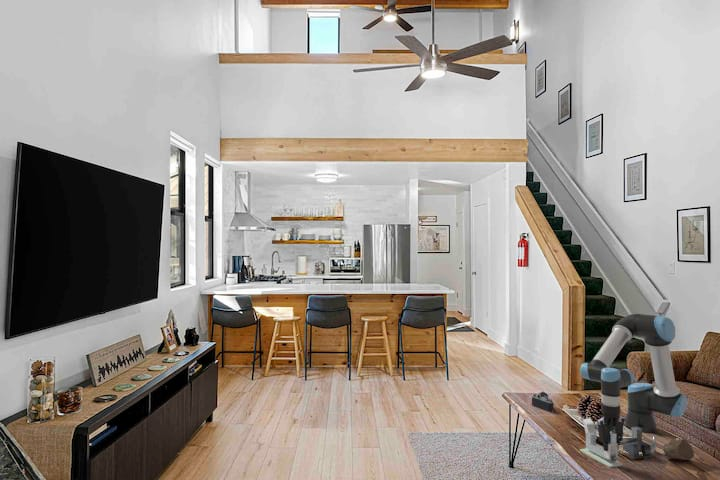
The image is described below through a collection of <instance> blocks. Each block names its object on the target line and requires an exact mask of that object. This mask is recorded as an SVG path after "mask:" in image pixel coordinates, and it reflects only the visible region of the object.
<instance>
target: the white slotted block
mask: <svg viewBox="0 0 720 480" xmlns="http://www.w3.org/2000/svg"><path fill="white" fill-rule="evenodd" d="M596 435H597V434H596ZM596 435H595V434H593V433H591V432H589V433H585V448H587V449H589V450H590V451H592V452H594V453H596V454H598V455H599V456H601V457H603V458H605V459H607V458H606V457H604V449H603V445H600V444H598V443H597V439H596ZM609 444H610V445H611V459H607V460H609V461H610V462H613V461H617V458H616V433H614V432H612V430H610V438H609Z"/></svg>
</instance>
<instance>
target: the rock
mask: <svg viewBox="0 0 720 480" xmlns="http://www.w3.org/2000/svg"><path fill="white" fill-rule="evenodd" d="M662 448H663V454H665V457H666V458H667V459H668V460H669V459H677V460H683V461H684V460H688V461H689V460H692V459H693V458H694V457H695V452H694V449H693V447H692V445H691V444H690V443H689V441H688V440H686V439H685V438H682V439H681V438H679V437H677V438H672V439H671V440H669V441H668V442H667V443H665V444H664V445H663V447H662Z"/></svg>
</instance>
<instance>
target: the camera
mask: <svg viewBox="0 0 720 480" xmlns="http://www.w3.org/2000/svg"><path fill="white" fill-rule="evenodd" d="M531 406H532V407H535V408H537V409H540V410H543V412H548V413H551V414H552V413H554V406H555V403H554V401H553V399H552V398H551V397H549V394H548V393H547V392H545V391H544V390H543V391H541V392H539V393H535V392H533V393H532V395H531Z"/></svg>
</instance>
